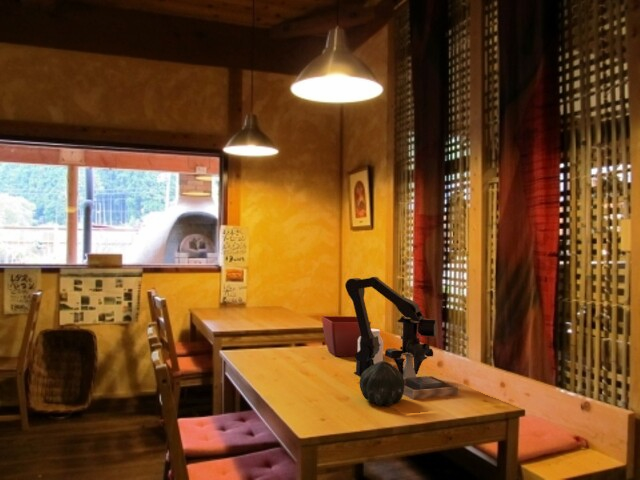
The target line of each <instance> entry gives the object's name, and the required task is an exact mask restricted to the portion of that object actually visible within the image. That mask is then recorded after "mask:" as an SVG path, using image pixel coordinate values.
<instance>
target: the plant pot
mask: <svg viewBox="0 0 640 480" xmlns="http://www.w3.org/2000/svg"><path fill="white" fill-rule="evenodd" d="M321 320H322V329H323V334H324V339H325V343H326V347H327V350H328V352H329V353H330V354H331V355H333V356H334V357H337V356H340V357H355V354H356V353H358V339H359V337H360V336H361V334H360V330H359V326H358V321H357V317H356V315H353V316H348V315H347V316H345V315H344V316H341V315H340V316H338V315H337V316H336V315H334V316H332V315H331V316H329V315H327V316H325V315H324V316H321ZM369 323H370V325H371V321H369Z"/></svg>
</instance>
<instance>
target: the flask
mask: <svg viewBox="0 0 640 480" xmlns="http://www.w3.org/2000/svg"><path fill="white" fill-rule="evenodd" d="M404 357H405V361H404V362H405V363H404V365H403V375H402V376H403V378H412V377H417V374H415V370H414V358H413V357H414V356H413V355H404Z"/></svg>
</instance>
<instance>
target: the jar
mask: <svg viewBox="0 0 640 480" xmlns="http://www.w3.org/2000/svg"><path fill="white" fill-rule="evenodd" d="M371 331H372V334H373V335H374V337H376V336H378V341H379V344H380V346H379V352H378V353H377V354H376V355H375V357H374V358H373V360H374V361H373V363H374V364H376V363H378V362H381V361H384V359H383V358H384V340H383V338H382V336H381V330H380V329H377V328H372V327H371ZM360 338H361V336H360V337H359V339H358V352H359V351H360Z"/></svg>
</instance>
